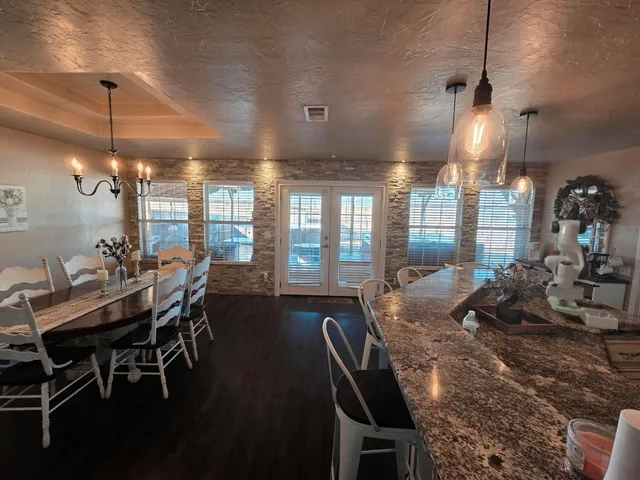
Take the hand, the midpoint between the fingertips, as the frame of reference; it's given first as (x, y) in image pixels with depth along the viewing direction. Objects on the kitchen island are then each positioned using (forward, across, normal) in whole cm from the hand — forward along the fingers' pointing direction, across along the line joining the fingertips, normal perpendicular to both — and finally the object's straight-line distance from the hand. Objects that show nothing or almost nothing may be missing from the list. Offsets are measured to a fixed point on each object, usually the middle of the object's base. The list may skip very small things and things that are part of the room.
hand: (563, 303), depth 202 cm
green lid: (+3, -1, 0) cm, 3 cm away
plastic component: (+11, -3, -18) cm, 21 cm away
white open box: (+10, -18, +3) cm, 21 cm away
